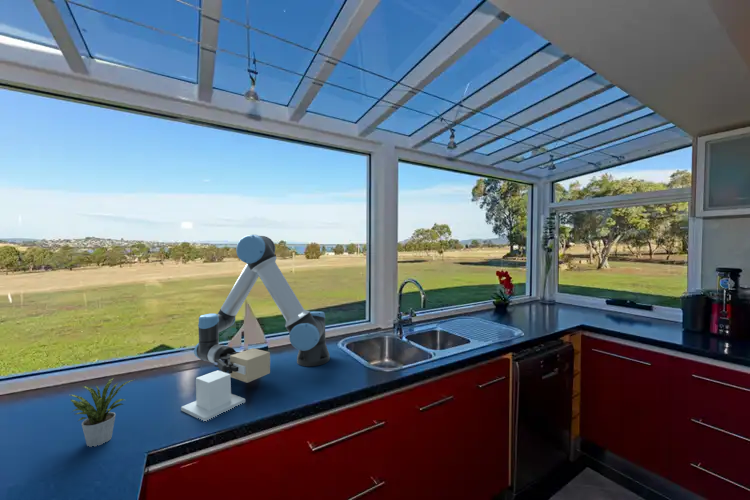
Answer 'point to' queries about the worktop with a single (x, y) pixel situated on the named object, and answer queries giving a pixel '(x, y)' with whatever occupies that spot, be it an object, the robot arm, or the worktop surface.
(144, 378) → the worktop surface
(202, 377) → the white serrated base block
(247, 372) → the beige cubic block
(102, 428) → the house plant
